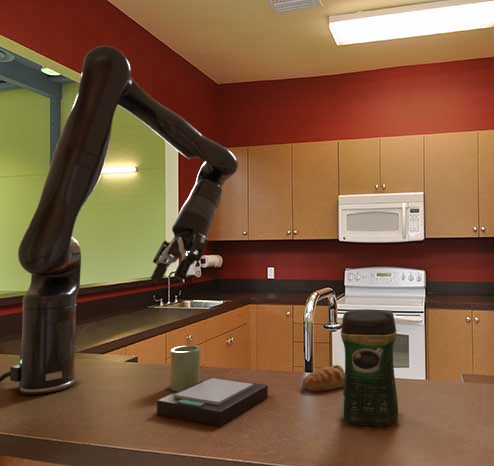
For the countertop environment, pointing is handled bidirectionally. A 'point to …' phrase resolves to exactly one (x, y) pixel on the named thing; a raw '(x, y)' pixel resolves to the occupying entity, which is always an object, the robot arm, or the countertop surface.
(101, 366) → the countertop surface
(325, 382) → the pastry
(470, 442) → the countertop surface
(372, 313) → the coffee jar
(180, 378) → the cup
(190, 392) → the scale
